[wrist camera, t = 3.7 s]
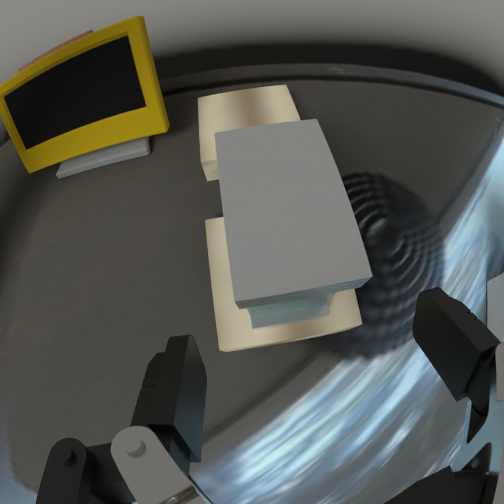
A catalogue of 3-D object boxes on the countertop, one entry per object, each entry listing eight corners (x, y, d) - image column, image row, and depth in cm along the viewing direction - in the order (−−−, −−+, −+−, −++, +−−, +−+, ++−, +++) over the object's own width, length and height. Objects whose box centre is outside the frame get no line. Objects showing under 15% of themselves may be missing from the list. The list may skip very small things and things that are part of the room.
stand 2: (226, 351, 22) (219, 350, 19) (212, 235, 25) (205, 220, 22) (351, 328, 21) (362, 324, 19) (324, 217, 25) (329, 200, 22)
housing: (253, 330, 19) (234, 301, 10) (238, 225, 22) (214, 132, 13) (325, 317, 19) (372, 276, 10) (302, 215, 22) (316, 119, 13)
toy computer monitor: (42, 187, 30) (-27, 115, 15) (57, 144, 33) (4, 72, 18) (176, 153, 29) (126, 29, 15) (181, 108, 32) (146, 2, 18)
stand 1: (207, 181, 27) (200, 162, 25) (203, 116, 31) (197, 98, 28) (307, 165, 27) (310, 145, 25) (285, 103, 31) (286, 84, 28)
